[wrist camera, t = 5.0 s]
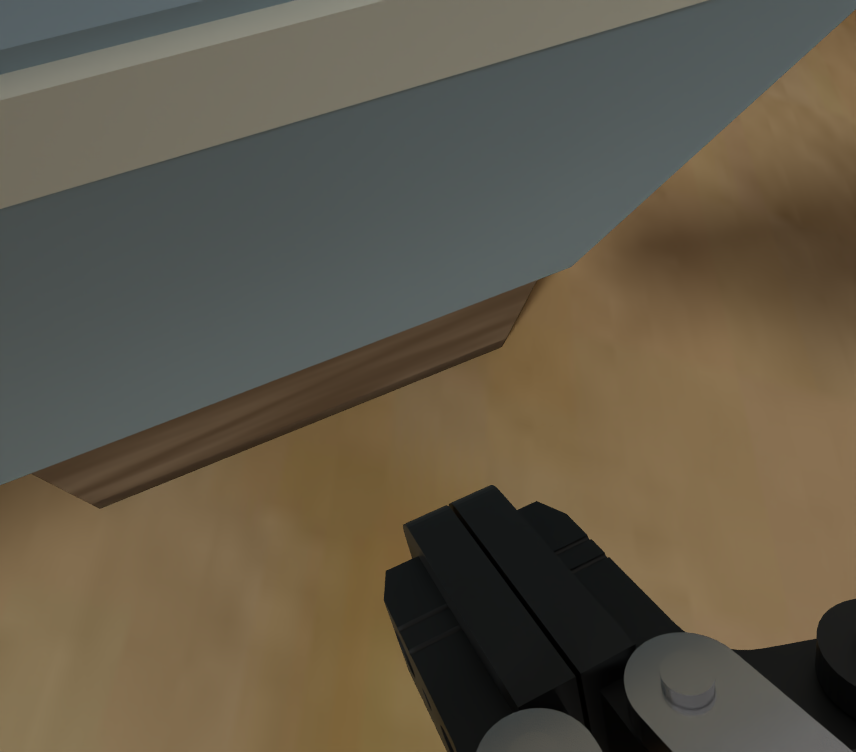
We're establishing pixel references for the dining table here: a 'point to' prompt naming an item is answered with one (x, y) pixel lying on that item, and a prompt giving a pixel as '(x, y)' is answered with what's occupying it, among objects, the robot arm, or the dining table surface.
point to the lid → (321, 177)
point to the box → (286, 403)
